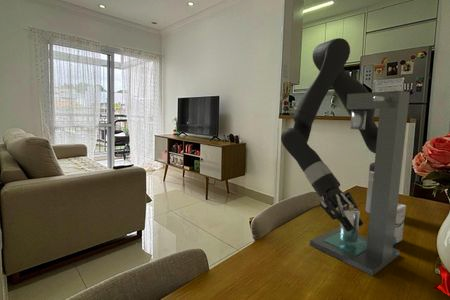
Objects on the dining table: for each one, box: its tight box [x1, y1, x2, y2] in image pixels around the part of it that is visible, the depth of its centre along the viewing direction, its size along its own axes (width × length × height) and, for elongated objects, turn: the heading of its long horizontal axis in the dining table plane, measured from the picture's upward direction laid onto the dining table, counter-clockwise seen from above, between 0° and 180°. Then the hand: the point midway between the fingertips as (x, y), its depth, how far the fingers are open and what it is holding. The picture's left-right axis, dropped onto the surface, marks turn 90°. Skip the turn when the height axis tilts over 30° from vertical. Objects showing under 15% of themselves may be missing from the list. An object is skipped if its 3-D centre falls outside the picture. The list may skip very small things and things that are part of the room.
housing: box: [339, 203, 361, 243], centre depth 73 cm, size 5×5×10 cm
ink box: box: [393, 202, 407, 246], centre depth 77 cm, size 8×5×15 cm, turn 123°
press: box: [309, 90, 411, 277], centre depth 69 cm, size 18×18×45 cm
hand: (355, 227), depth 71 cm, fingers closed on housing, 4 cm apart
